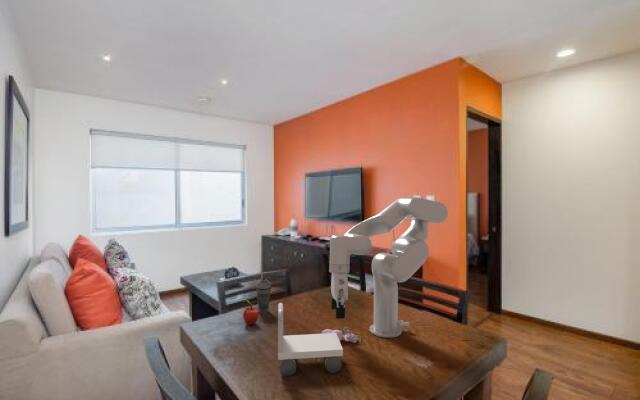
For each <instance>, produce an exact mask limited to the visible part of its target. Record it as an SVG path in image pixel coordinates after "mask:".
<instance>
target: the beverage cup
mask: <svg viewBox="0 0 640 400" xmlns="http://www.w3.org/2000/svg"><path fill="white" fill-rule="evenodd" d="M260 274H261V275H260V276H261V279H259V280H258V281H256V285H255V291H256V296H257V297H256V298H257V299H256V300H257V308H258V309H257V310H258V312H259V314H262V313H264V314H267V312H268V313H269V309H270V300H271V290H272V284H271V282H270V280H268V279H267V278H264V277H263V270H262V269H260Z"/></svg>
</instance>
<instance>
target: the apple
mask: <svg viewBox="0 0 640 400" xmlns="http://www.w3.org/2000/svg"><path fill="white" fill-rule="evenodd" d="M243 302H248V304H249V305H250V306H248V307H246V308H245V309H244V310H243V314H242V317H243V320H244V323H245V324H246V325H247V326H254V325H255V324H256V323H257V321H258V320H259V314H260V313H259V310H258V309H257V308H255V307H253V304H252V303H251V302H250V300H247V299H245V300H243Z"/></svg>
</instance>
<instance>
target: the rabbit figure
mask: <svg viewBox="0 0 640 400" xmlns="http://www.w3.org/2000/svg"><path fill="white" fill-rule="evenodd" d="M343 332H344V333H346V334H344V333H343ZM343 332H342V331H341V330H339V329H335V330H333V329H329V328H326V329H324V330H322V331H321V333H320V334H326V333H336V334H337V336H338V339H339V341H340V342H341V341H342V340H345V341H347V342H351V343H352V344H357V341H359V343H361V341H362V340H361V338H362V335H360V336H359V334H357V335H355V334H354V333H352V332H351V331H350V330H349V327H348V326H344V327H343Z"/></svg>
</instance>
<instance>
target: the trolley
mask: <svg viewBox="0 0 640 400" xmlns="http://www.w3.org/2000/svg"><path fill="white" fill-rule="evenodd" d="M277 311H278V312H277V360H278V361H280V362H279V372H280V374H282V376H284V377H291V376H293V375H294V374H295V373H296V371H297V363H296V360H298V359H299V360H301V359H313V358H314V359H315V358H325V360H324V366H325V369H326V371H327V372H329V373H330V374H336V373H338V372H339V371H340V370H341V368H342V360H341V358H340V357H344V348H343V347H342V344H341V341H339V339H338V336H337V334H336V333H326V334H321V333H311V334H310V333H309V334H291V335H284V304H283V303H282V302H279V303H278V304H277Z"/></svg>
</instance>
